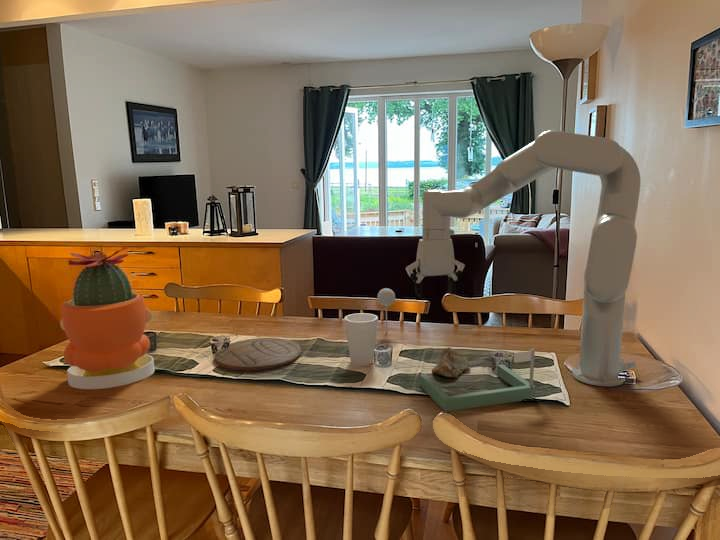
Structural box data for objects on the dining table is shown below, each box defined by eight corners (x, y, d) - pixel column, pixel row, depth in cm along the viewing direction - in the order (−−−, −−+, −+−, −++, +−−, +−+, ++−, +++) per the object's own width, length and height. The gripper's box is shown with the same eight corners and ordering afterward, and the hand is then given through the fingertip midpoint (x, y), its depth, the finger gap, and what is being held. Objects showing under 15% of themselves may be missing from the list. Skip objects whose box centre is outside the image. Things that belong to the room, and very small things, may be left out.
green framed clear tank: (502, 375, 144) (503, 331, 141) (535, 398, 129) (537, 350, 127) (420, 385, 138) (420, 340, 136) (445, 411, 123) (445, 361, 121)
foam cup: (375, 368, 150) (374, 323, 147) (342, 366, 152) (341, 321, 149) (380, 356, 159) (380, 313, 157) (349, 355, 161) (348, 312, 158)
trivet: (240, 380, 144) (239, 373, 144) (200, 356, 163) (200, 350, 163) (317, 358, 160) (317, 352, 160) (273, 338, 179) (273, 332, 179)
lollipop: (375, 330, 184) (374, 287, 181) (391, 328, 186) (391, 285, 183) (381, 335, 178) (380, 291, 175) (398, 333, 180) (397, 289, 177)
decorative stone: (471, 346, 152) (464, 371, 138) (471, 360, 153) (464, 386, 140) (437, 343, 155) (427, 367, 141) (437, 357, 156) (428, 382, 143)
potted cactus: (71, 371, 152) (56, 247, 146) (156, 360, 160) (145, 241, 153) (60, 401, 132) (41, 259, 126) (157, 387, 140) (144, 252, 133)
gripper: (458, 231, 157) (457, 289, 160) (401, 234, 152) (401, 294, 156) (470, 234, 150) (469, 295, 153) (411, 237, 145) (410, 300, 149)
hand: (435, 294), depth 154 cm, fingers open, 9 cm apart
